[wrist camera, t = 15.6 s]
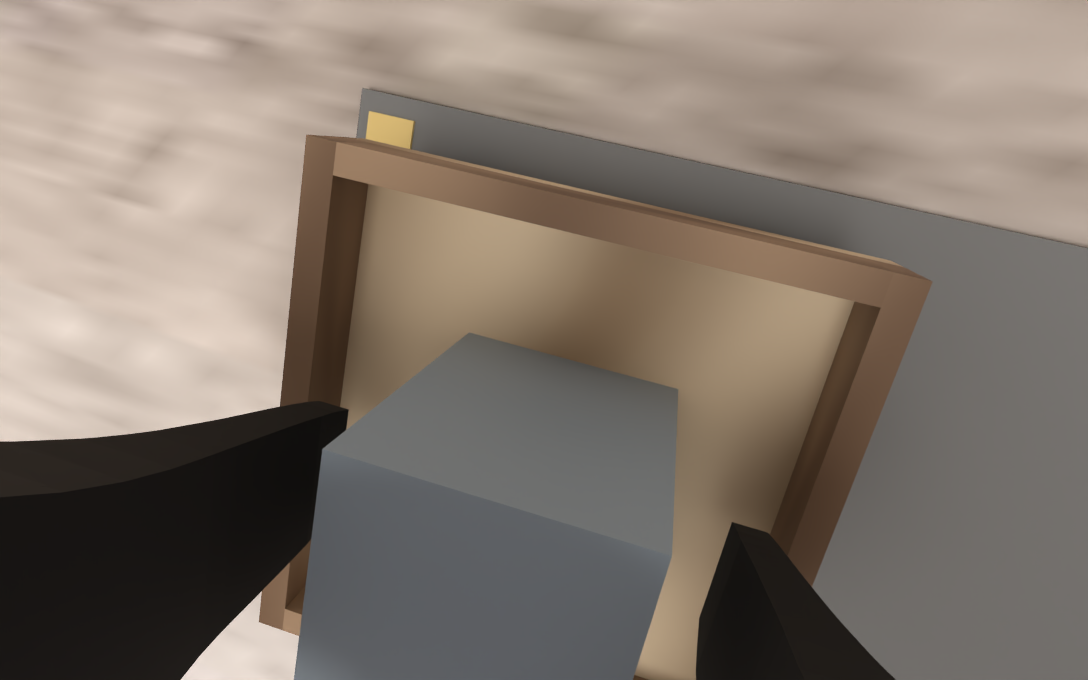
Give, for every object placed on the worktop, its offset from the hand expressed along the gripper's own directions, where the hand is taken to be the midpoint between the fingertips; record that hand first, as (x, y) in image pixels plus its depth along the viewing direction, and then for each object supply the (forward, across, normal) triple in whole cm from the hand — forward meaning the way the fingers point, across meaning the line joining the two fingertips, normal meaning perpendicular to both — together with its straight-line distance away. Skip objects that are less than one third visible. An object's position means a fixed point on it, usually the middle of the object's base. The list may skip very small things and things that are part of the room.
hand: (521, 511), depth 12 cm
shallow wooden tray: (+6, 0, 0) cm, 6 cm away
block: (+3, 0, 0) cm, 3 cm away
